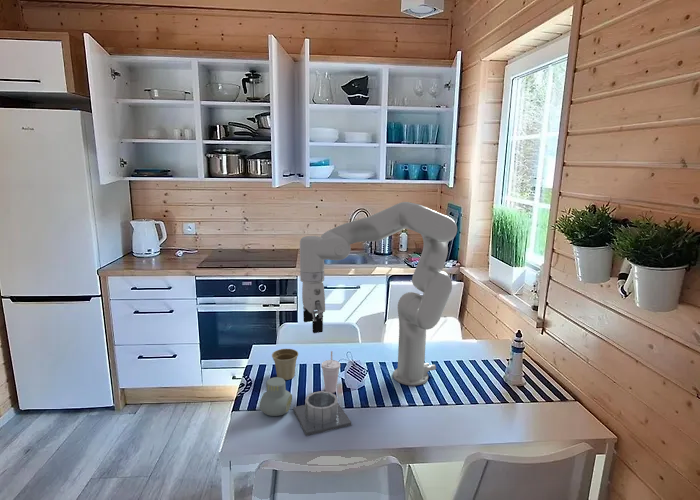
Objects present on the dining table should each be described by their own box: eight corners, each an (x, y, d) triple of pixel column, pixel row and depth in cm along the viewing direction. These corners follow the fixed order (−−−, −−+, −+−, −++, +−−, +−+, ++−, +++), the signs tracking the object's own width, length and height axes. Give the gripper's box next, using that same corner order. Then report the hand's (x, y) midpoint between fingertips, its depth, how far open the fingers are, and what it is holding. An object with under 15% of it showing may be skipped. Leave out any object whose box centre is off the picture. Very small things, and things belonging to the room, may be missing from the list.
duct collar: (335, 401, 142) (335, 384, 141) (351, 425, 130) (351, 407, 128) (293, 410, 137) (293, 392, 136) (306, 436, 124) (305, 417, 123)
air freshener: (284, 422, 131) (283, 391, 129) (257, 419, 132) (256, 389, 130) (294, 402, 141) (293, 374, 139) (269, 400, 143) (268, 371, 140)
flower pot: (267, 379, 155) (266, 357, 154) (281, 368, 164) (280, 346, 162) (290, 384, 152) (290, 362, 150) (303, 372, 161) (303, 351, 159)
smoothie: (343, 387, 150) (343, 350, 148) (334, 396, 145) (335, 357, 142) (326, 383, 153) (326, 346, 150) (318, 392, 147) (317, 354, 144)
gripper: (333, 281, 131) (333, 335, 134) (315, 268, 146) (315, 316, 150) (309, 284, 128) (309, 338, 131) (293, 270, 143) (294, 319, 147)
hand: (312, 326), depth 141 cm, fingers open, 9 cm apart
